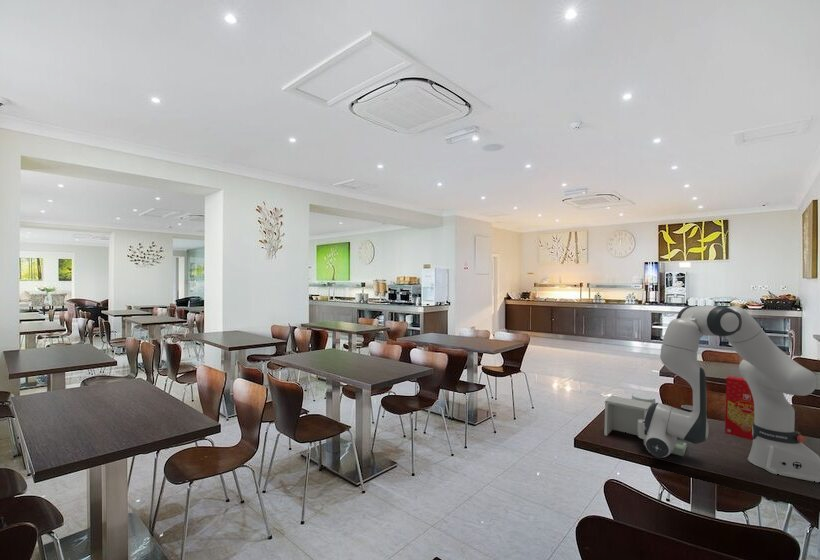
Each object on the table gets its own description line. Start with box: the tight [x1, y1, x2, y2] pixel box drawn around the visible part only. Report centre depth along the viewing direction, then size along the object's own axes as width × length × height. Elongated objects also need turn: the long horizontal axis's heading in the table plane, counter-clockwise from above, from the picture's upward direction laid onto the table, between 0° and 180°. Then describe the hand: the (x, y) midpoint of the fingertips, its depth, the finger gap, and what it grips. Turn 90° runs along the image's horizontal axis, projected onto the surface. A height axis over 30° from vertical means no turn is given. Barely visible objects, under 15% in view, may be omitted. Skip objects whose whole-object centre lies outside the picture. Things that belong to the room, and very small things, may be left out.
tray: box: [671, 441, 688, 457], centre depth 163 cm, size 12×12×2 cm
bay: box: [603, 395, 652, 446], centre depth 174 cm, size 16×11×15 cm
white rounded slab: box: [631, 393, 656, 405], centre depth 185 cm, size 10×10×15 cm
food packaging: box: [724, 375, 754, 441], centre depth 177 cm, size 15×5×25 cm, turn 41°
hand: (668, 425), depth 164 cm, fingers closed on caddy, 5 cm apart
